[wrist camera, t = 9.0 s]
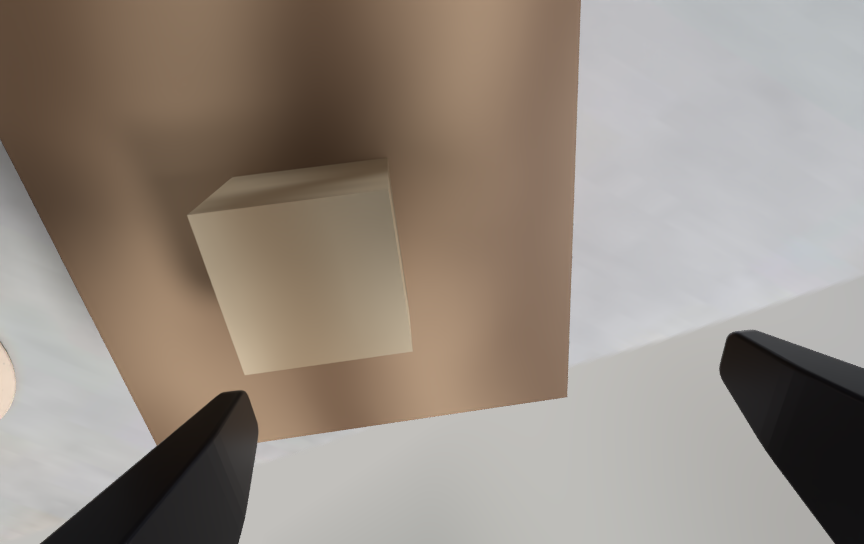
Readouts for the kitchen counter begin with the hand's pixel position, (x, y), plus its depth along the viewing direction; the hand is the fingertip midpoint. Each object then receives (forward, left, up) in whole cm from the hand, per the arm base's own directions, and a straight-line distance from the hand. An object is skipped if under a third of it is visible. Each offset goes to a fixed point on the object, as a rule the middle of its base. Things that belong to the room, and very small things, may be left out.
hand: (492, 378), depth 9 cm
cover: (+3, -1, -6) cm, 7 cm away
